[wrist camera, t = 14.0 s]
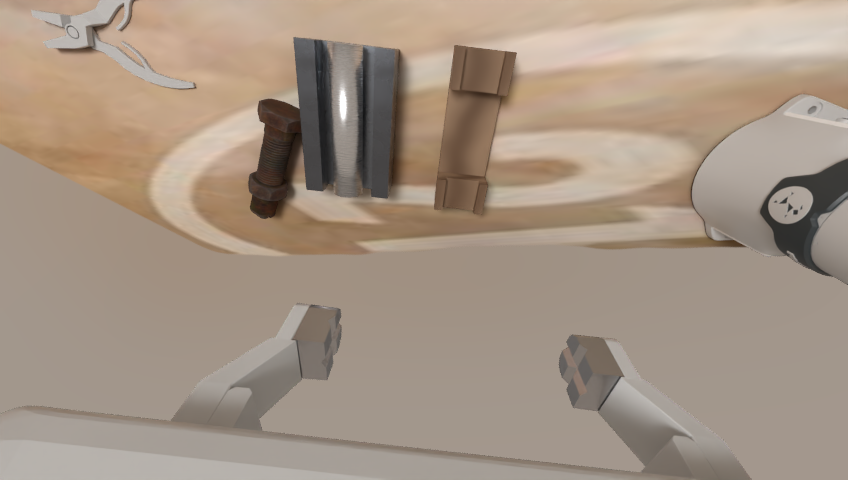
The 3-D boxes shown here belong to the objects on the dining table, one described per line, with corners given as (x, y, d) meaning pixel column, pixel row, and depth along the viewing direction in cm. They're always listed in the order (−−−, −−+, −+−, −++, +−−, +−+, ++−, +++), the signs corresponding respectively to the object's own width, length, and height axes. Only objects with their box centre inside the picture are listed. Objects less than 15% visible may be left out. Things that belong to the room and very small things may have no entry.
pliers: (189, 90, 38) (60, 79, 38) (198, 89, 39) (73, 78, 39) (160, -17, 33) (11, -30, 33) (171, -14, 34) (28, -26, 34)
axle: (334, 42, 34) (321, 41, 31) (366, 46, 34) (357, 45, 31) (339, 185, 42) (329, 195, 39) (365, 188, 42) (357, 199, 39)
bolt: (269, 199, 48) (291, 100, 40) (291, 218, 47) (318, 121, 39) (230, 206, 43) (247, 96, 36) (254, 228, 42) (277, 119, 34)
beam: (509, 52, 36) (516, 52, 32) (478, 201, 45) (481, 214, 41) (454, 45, 35) (456, 45, 32) (434, 196, 45) (434, 209, 41)
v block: (399, 49, 36) (394, 49, 32) (391, 185, 44) (387, 198, 40) (309, 38, 36) (293, 37, 32) (318, 177, 44) (306, 189, 40)
